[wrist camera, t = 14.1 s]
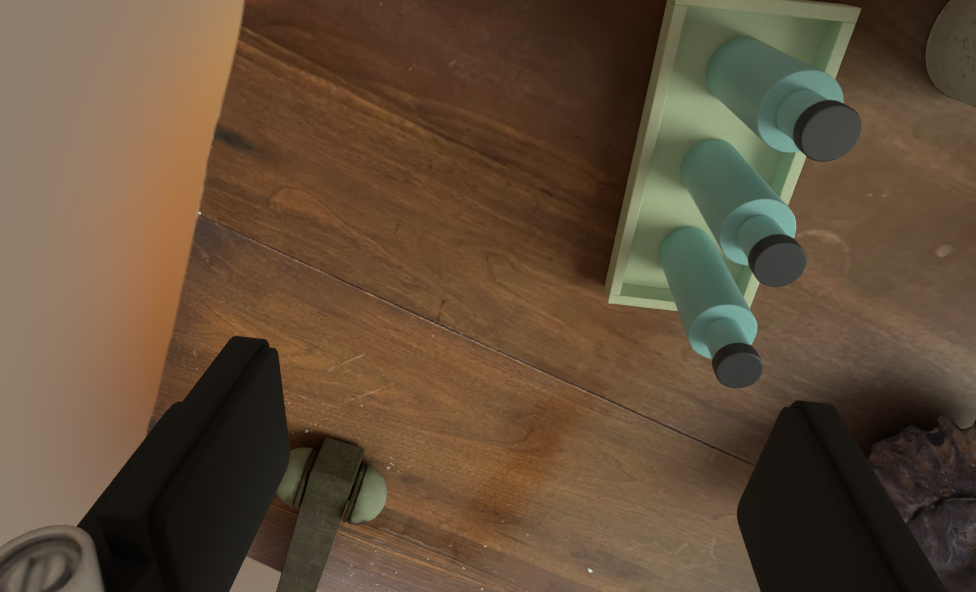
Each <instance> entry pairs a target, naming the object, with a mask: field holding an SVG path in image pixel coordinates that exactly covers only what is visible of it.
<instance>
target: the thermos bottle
mask: <svg viewBox="0 0 976 592" xmlns="http://www.w3.org/2000/svg"><path fill="white" fill-rule="evenodd" d="M925 57H926V67H927V71H928V73H929V76H930V79H931V80H932V82H933V83H934V85H935V86H936V87H937V88H938V89H939V90H940V91H941V92H943V93H944V94H945V95H947V96H950V97H952V98H954V99H956V100H959V101H961V102H964V103H966V104H968V105H971V106H973V107H976V0H950V1H949V2H948V3H947V4H946V6H945V7H944V8H943V10H942V11H941V13H940V14H939V16H938V17H937V19H936V21H935V23H934V25H933V27H932V29H931V32H930V35H929V38H928V41H927V47H926V56H925Z"/></svg>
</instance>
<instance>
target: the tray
mask: <svg viewBox="0 0 976 592" xmlns="http://www.w3.org/2000/svg"><path fill="white" fill-rule="evenodd" d="M860 11H861V8H858V7H853V6H849V5H845V4H838V3H828V2H819V1H809V0H667V3H666V8H665V12H664V17H663V22H662V26H661V31H660V35H659V40H658V44H657V49H656V54H655V58H654V63H653V67H652V72H651V77H650V81H649V86H648V90H647V95H646V99H645V104H644V109H643V113H642V118H641V122H640V127H639V131H638V136H637V141H636V145H635V150H634V154H633V159H632V164H631V168H630V173H629V177H628V182H627V186H626V191H625V196H624V200H623V205H622V209H621V214H620V219H619V223H618V228H617V232H616V237H615V241H614V246H613V251H612V255H611V260H610V264H609V269H608V273H607V278H606V283H605V290H606V296H607V302H608V303H613V304H621V305H630V306H638V307H647V308H656V309H664V310H673V311H678V310H677V307H676V304H675V301H674V299H673V296H672V293H671V290H670V287H669V285H668V282H667V279H666V276H665V273H664V271H663V268H662V265H661V262H660V259H659V248H660V245H661V243H662V241H663V240H664V239H665V237H666V236H667V235H669V234H670V233H671V232H673V231H675V230H677V229H680V228H684V227H695V228H699V229H701V230H703V231H705V232H706V233H707V234H708V235H709V236H710V238H711V239H712V241H713V243H714V245H715V247H716V248H717V250H718V252H719V254H720V256H721V258H722V259H723V261H724V263H725V265H726V267H727V268H728V270H729V272H730V274H731V276H732V277H733V279H734V281H735V283H736V285H737V287H738V288H739V290H740V292H741V294H742V296H743V297H744V299H745V301H746V303H747V305H748V306H749V308H750V306H751V304H752V301H753V298H754V296H755V293H756V290H757V287H758V285H759V281H758V280H757V279H756V277H755V276H754V274H753V273H752V271H751V269H750V268H749V266H748V265H741V264H738V263H735V262H733V261H731V260H730V259H729V258H727V257H726V256H725V254H724V253H723V252H722V250H721V248H720V246H719V245H718V243H717V241H716V239H715V238H714V236H713V234H712V232H711V230H710V229H709V227H708V225H707V223H706V222H705V220H704V218H703V216H702V215H701V213H700V211H699V209H698V207H697V206H696V204H695V202H694V200H693V199H692V197H691V195H690V193H689V192H688V190H687V188H686V186H685V184H684V183H683V181H682V178H681V173H680V168H681V163H682V160H683V158H684V156H685V155H686V153H687V152H688V151H689V150H690V149H691V148H692V147H693V146H695V145H696V144H698V143H700V142H702V141H705V140H709V139H721V140H724V141H727V142H729V143H730V144H732V145H733V146H734V147H735V149H736V150H737V151H738V152H739V153H740V154H741V155H742V156H743V157H744V159H745V160H746V161H747V162H748V163H749V164H750V165H751V166H752V167H753V169H754V170H755V171H756V172H757V173H758V174H759V175H760V176H761V177H762V179H763V180H764V181H765V182H766V183H767V184H768V185H769V186H770V187H771V188H772V190H773V191H774V192H775V193H776V194H777V195H778V196H779V197H780V198H781V200H782V201H783V202H784V203H785V204H786V205H787V206H788V204H789V201H790V199H791V196H792V193H793V191H794V188H795V185H796V183H797V180H798V177H799V175H800V172H801V169H802V167H803V164H804V161H805V158H806V155H805V154H803V153H802V152H801V151H799V152H792V153H789V152H780V151H777V150H775V149H773V148H771V147H769V146H768V145H767V144H766V143H764V142H763V141H762V140H761V139H760V138H759V137H758V136H757V135H756V134H755V133H754V132H753V131H752V130H751V129H750V128H748V127H747V126H746V125H745V124H744V123H743V122H742V121H741V120H740V119H739V118H738V117H737V116H736V115H735V114H734V113H732V112H731V111H730V110H729V109H728V108H727V107H726V106H725V105H724V104H723V103H722V102H721V101H720V100H719V99H718V98H716V97H715V96H714V95H713V94H712V93H711V91H710V90H709V88H708V85H707V82H706V69H707V65H708V62H709V60H710V58H711V56H712V55H713V53H714V52H715V51H716V50H717V49H718V48H719V47H720V46H721V45H722V44H724V43H725V42H727V41H729V40H731V39H733V38H737V37H752V38H755V39H757V40H759V41H761V42H763V43H765V44H768V45H770V46H772V47H774V48H776V49H778V50H780V51H782V52H784V53H786V54H788V55H790V56H792V57H794V58H796V59H798V60H800V61H803V62H805V63H807V64H809V65H811V66H813V67H815V68H817V69H819V70H821V71H823V72H825V73H827V74H829V75H830V76H832V77H833V78H834V79H835V78H836V75H837V73H838V70H839V67H840V64H841V62H842V59H843V56H844V54H845V51H846V48H847V46H848V43H849V40H850V38H851V35H852V32H853V30H854V27H855V23H856V22H857V19H858V16H859V14H860Z"/></svg>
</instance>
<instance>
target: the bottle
mask: <svg viewBox="0 0 976 592" xmlns="http://www.w3.org/2000/svg"><path fill="white" fill-rule="evenodd" d="M659 259H660V262H661V265H662V268H663V271H664V273H665V276H666V279H667V282H668V285H669V287H670V290H671V293H672V296H673V299H674V301H675V304H676V307H677V310H678V313H679V315H680V318H681V321H682V324H683V327H684V329H685V332H686V335H687V338H688V341H689V343H690V345H691V347H692V348H693V349H694V351H696V352H697V353H698V354H700V355H702V356H704V357H707V358H711V359H713V360H712V367H713V370H714V372H715V375H716V377H717V379H718V381H719V382H720V383H722V384H723V385H725V386H727V387H730V388H743V387H746V386H749V385H751V384H753V383H754V382H756V381H757V380H758V379H759V378H760V376H761V374H762V372H763V363H762V361H761V359H760V357H759V355H758V353H757V351H756V350H755V349H754V348H753V347H752V346H751V344H752V342H753V341H754V339H755V336H756V333H757V322H756V319H755V317H754V316H753V314H752V312H751V310H750V308H749V306H748V305H747V303H746V301H745V299H744V297H743V296H742V294H741V292H740V290H739V288H738V287H737V285H736V283H735V281H734V279H733V277H732V276H731V274H730V272H729V270H728V268H727V267H726V265H725V263H724V261H723V259H722V258H721V256H720V254H719V252H718V250H717V248H716V247H715V245H714V243H713V241H712V239H711V238H710V236H709V235H708V234H707V233H706V232H705V231H703V230H701V229H699V228H695V227H684V228H680V229H677V230H675V231H673V232H671V233H670V234H669V235H667V236H666V237H665V239H664V240H663V241H662V243H661V245H660V248H659Z"/></svg>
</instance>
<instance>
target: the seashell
mask: <svg viewBox="0 0 976 592" xmlns="http://www.w3.org/2000/svg"><path fill="white" fill-rule="evenodd" d="M867 461H868V463H869V464H870V466H871V467H872V469H873V471H874V472H875V474H876V476H877V477H878V479H879V481H880V482H881V484H882V485H883V487H884V489H885V490H886V492H887V494H888V495H889V497H890V498H891V500H892V502H893V503H894V505H895V507H896V508H897V510H898V512H899V513H900V515H901V516H902V518H903V520H904V521H905V523H906V525H907V526H908V528H909V529H910V531H911V533H912V534H913V536H914V538H915V539H916V541H917V542H918V544H919V546H920V547H921V549H922V551H923V552H924V554H925V556H926V557H927V559H928V560H929V562H930V564H931V565H932V567H933V569H934V570H935V572H936V573H937V575H938V577H939V578H940V580H941V582H942V583H943V585H944V587H945V588H946V590H947V591H948V592H976V421H975V422H974V424H973V426H971V427H968V428H966V429H960V428H959V427H958V426H957V425H956V424H955V423H954V422H953V421H952V420H951V419H950V418H948V417H946V416H943V415H942V416H941V417H938V419H937V424H936V428H935V430H933V431H928V432H927V431H924V430H922V429H920V428H918V427H914V426H910V425H909V426H905V429H904V430H903V431H902V432H901V433H899V434H897V435H895V436H892V437H889V438H886V439H884V440H881V441H879V442H876V443H874V444H873V445H872V447H871V456H870V457H869V458H867Z"/></svg>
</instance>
